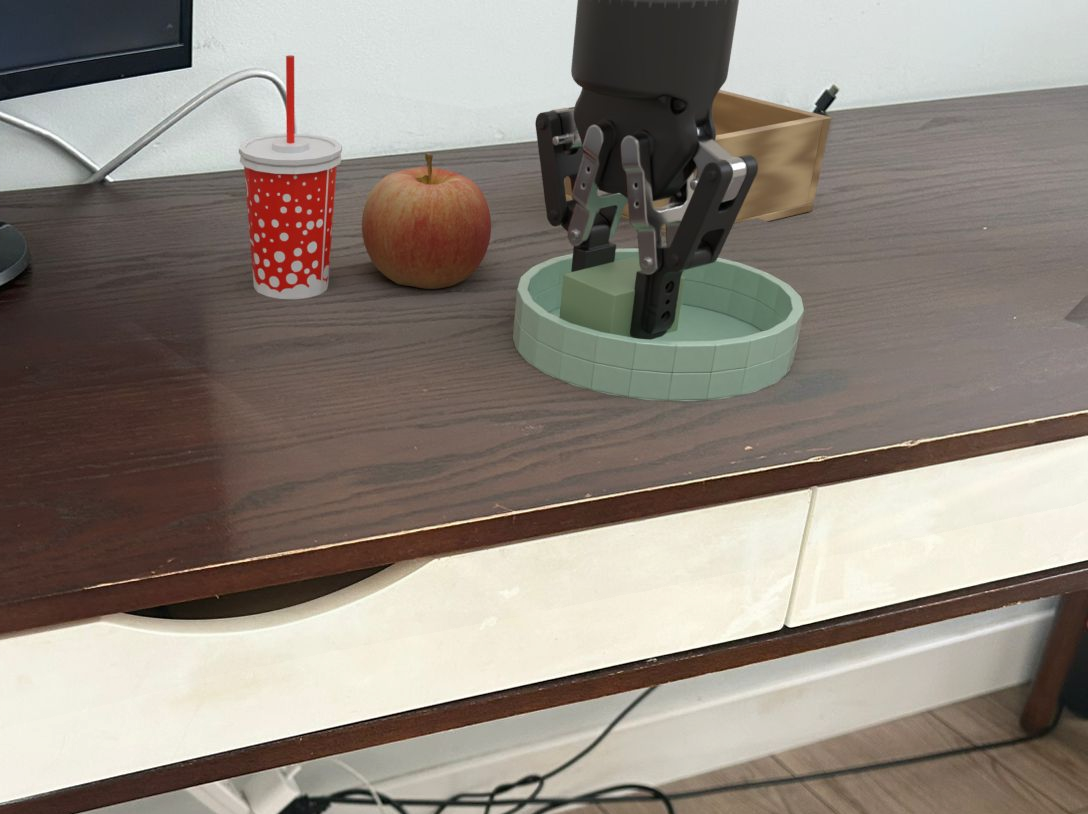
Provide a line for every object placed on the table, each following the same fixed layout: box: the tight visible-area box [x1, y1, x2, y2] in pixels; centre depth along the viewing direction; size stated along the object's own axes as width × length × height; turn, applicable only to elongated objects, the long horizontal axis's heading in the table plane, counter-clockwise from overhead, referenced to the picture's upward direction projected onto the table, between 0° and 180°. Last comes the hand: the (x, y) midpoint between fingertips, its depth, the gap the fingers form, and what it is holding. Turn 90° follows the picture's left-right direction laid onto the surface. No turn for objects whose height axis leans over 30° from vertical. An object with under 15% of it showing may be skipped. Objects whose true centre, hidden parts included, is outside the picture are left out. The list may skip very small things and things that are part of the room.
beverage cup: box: [238, 54, 343, 300], centre depth 82 cm, size 6×6×14 cm
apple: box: [361, 152, 492, 290], centre depth 84 cm, size 8×8×8 cm
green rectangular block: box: [559, 257, 685, 337], centre depth 74 cm, size 5×4×3 cm
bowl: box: [512, 247, 805, 402], centre depth 76 cm, size 15×15×4 cm
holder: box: [564, 89, 832, 234], centre depth 98 cm, size 14×12×7 cm
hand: (617, 322), depth 74 cm, fingers closed on green rectangular block, 4 cm apart
